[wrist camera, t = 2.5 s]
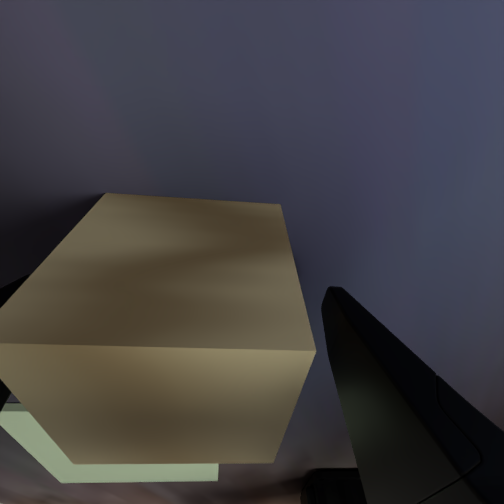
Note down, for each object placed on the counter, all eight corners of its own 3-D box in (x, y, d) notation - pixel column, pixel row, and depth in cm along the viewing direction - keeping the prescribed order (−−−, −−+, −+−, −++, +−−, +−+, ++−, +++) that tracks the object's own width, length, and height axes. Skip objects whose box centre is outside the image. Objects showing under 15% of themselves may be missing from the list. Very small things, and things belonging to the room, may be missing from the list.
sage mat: (220, 405, 15) (220, 412, 15) (218, 474, 23) (217, 480, 22) (-9, 403, 15) (-15, 411, 14) (63, 476, 22) (61, 482, 21)
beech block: (280, 203, 8) (315, 350, 4) (261, 314, 11) (272, 463, 7) (106, 192, 8) (-31, 342, 4) (135, 310, 11) (73, 464, 7)
